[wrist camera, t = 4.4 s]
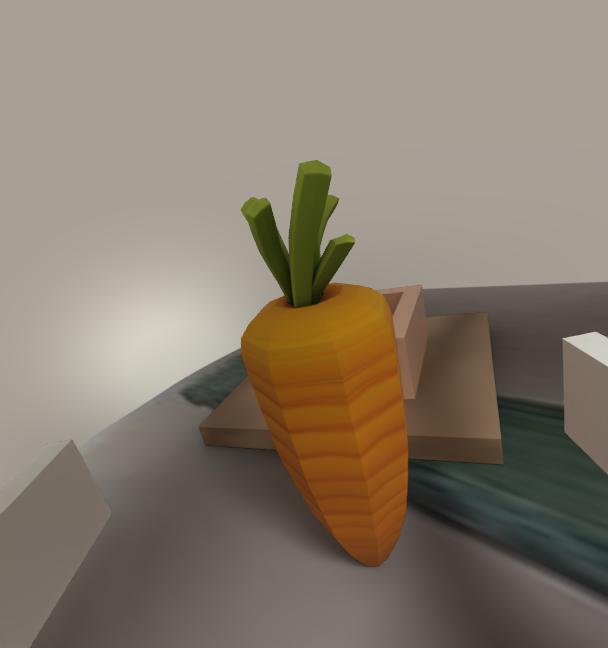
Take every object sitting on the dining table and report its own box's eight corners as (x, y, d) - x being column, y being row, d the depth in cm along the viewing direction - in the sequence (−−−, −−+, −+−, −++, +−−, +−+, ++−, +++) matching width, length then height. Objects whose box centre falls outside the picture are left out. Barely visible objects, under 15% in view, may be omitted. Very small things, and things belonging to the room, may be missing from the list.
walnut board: (488, 328, 32) (486, 311, 31) (503, 464, 18) (501, 439, 18) (295, 342, 39) (291, 328, 39) (205, 445, 26) (198, 427, 25)
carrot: (305, 532, 17) (196, 196, 13) (406, 497, 18) (339, 159, 13) (331, 651, 13) (175, 190, 8) (467, 599, 13) (399, 133, 8)
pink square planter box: (428, 332, 30) (421, 284, 29) (415, 399, 22) (404, 337, 21) (311, 340, 35) (301, 299, 33) (265, 399, 27) (249, 348, 25)
